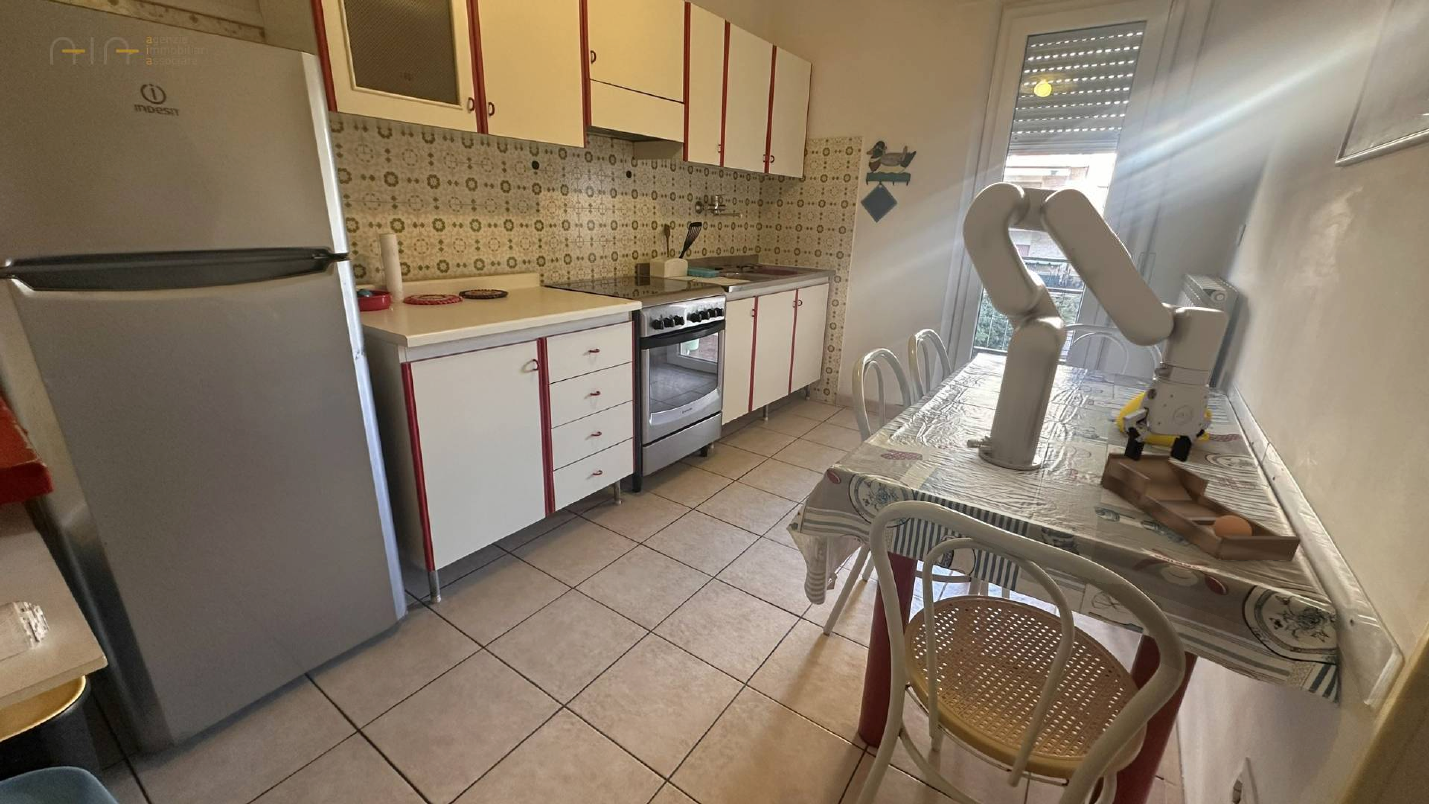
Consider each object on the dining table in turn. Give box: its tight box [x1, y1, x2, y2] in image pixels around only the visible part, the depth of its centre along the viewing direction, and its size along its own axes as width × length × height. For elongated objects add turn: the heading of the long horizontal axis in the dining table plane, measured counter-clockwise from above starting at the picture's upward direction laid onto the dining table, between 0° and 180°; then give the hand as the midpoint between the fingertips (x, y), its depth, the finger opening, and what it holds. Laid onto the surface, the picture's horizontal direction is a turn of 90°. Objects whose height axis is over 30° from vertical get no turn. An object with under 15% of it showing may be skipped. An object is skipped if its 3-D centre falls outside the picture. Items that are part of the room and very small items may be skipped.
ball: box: [1213, 515, 1252, 539], centre depth 94 cm, size 5×5×5 cm
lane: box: [1099, 452, 1302, 561], centre depth 102 cm, size 27×13×7 cm, turn 4°
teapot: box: [1116, 391, 1213, 448], centre depth 140 cm, size 20×19×13 cm
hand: (1154, 458), depth 110 cm, fingers open, 9 cm apart
